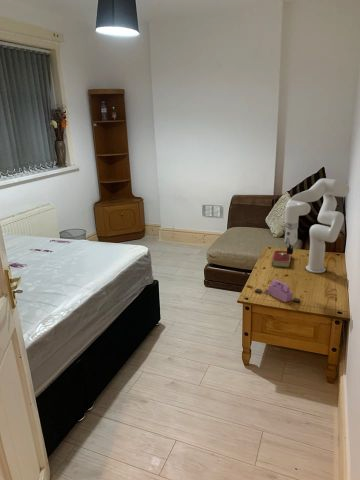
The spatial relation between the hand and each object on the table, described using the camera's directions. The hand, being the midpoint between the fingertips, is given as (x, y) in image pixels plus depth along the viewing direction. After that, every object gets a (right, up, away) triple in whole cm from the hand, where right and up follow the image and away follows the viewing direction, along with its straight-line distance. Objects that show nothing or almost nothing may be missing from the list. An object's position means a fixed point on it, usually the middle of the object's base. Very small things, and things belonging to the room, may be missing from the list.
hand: (289, 253), depth 217 cm
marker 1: (-19, -23, 0) cm, 30 cm away
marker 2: (0, -27, -13) cm, 30 cm away
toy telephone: (-9, -25, -6) cm, 27 cm away
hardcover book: (+7, -7, +41) cm, 42 cm away
